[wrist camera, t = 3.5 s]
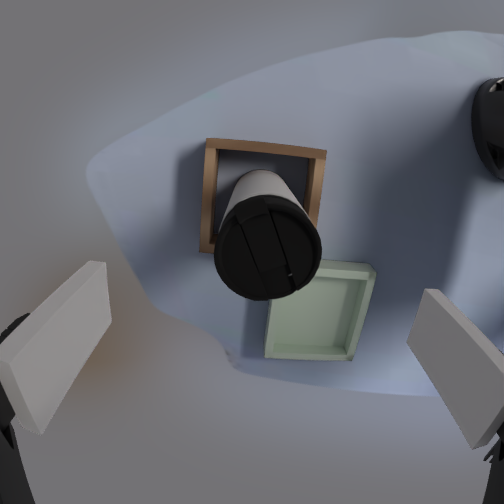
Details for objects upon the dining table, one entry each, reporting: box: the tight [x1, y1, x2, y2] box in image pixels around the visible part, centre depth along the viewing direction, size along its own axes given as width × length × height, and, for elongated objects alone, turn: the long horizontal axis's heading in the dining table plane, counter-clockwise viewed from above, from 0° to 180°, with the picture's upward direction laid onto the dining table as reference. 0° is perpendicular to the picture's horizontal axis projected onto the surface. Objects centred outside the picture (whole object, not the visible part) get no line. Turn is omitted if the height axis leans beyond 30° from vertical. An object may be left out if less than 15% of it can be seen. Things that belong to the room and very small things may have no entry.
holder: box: [199, 138, 327, 254], centre depth 35 cm, size 12×12×4 cm
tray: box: [263, 259, 377, 361], centre depth 40 cm, size 13×12×3 cm
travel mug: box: [214, 169, 322, 301], centre depth 27 cm, size 6×7×20 cm
